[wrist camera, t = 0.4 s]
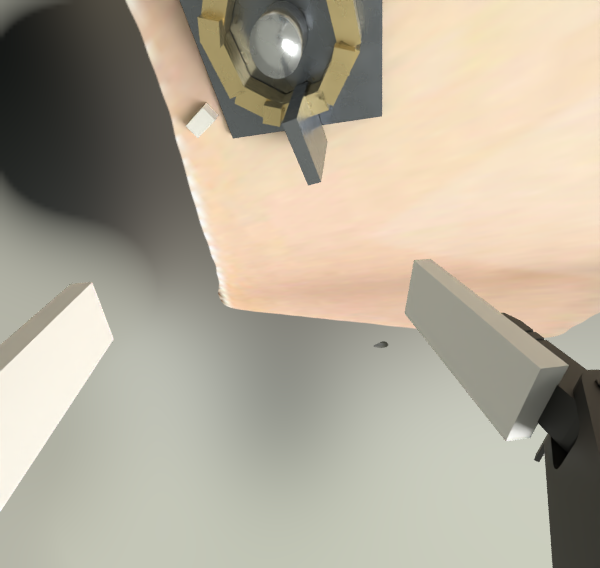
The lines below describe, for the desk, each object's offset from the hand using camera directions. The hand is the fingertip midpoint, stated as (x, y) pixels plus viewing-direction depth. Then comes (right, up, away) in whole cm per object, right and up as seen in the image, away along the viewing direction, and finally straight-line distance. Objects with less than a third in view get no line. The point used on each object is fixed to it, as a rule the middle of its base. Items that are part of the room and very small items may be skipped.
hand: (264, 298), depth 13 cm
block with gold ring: (+1, +26, +21) cm, 33 cm away
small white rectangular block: (-12, +23, +28) cm, 39 cm away
